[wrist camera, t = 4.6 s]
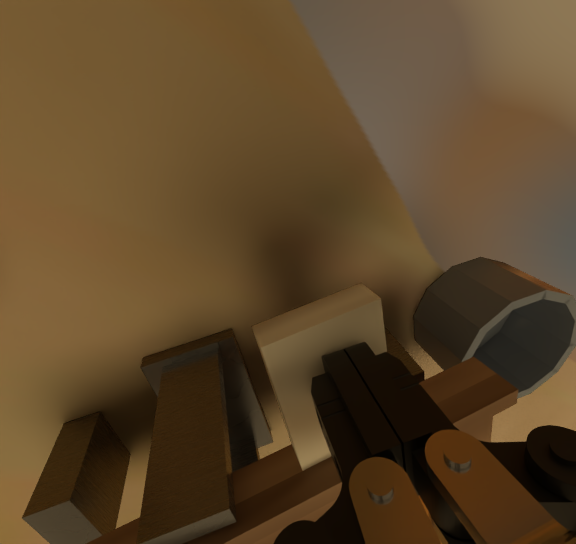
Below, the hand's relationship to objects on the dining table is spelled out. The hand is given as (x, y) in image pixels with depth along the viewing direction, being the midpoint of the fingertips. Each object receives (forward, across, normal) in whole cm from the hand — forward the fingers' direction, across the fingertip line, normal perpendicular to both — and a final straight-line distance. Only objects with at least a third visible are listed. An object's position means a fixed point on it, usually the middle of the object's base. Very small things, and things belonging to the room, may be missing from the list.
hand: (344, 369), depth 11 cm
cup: (+8, -11, +7) cm, 15 cm away
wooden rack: (+8, +5, +7) cm, 12 cm away
